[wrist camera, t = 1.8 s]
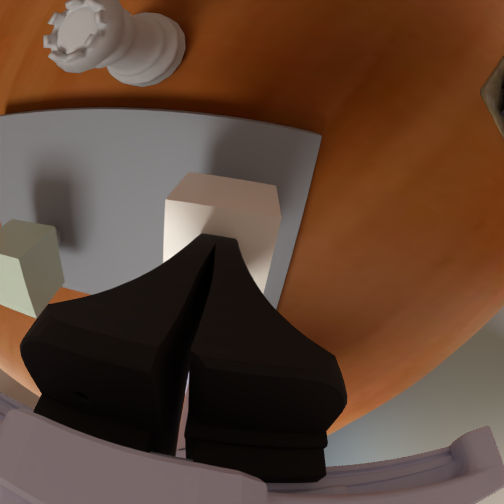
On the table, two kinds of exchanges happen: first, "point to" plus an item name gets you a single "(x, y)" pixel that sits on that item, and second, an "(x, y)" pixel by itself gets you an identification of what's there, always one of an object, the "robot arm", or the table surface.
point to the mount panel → (140, 181)
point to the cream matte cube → (225, 217)
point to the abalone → (495, 95)
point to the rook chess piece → (115, 41)
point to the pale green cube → (29, 266)
